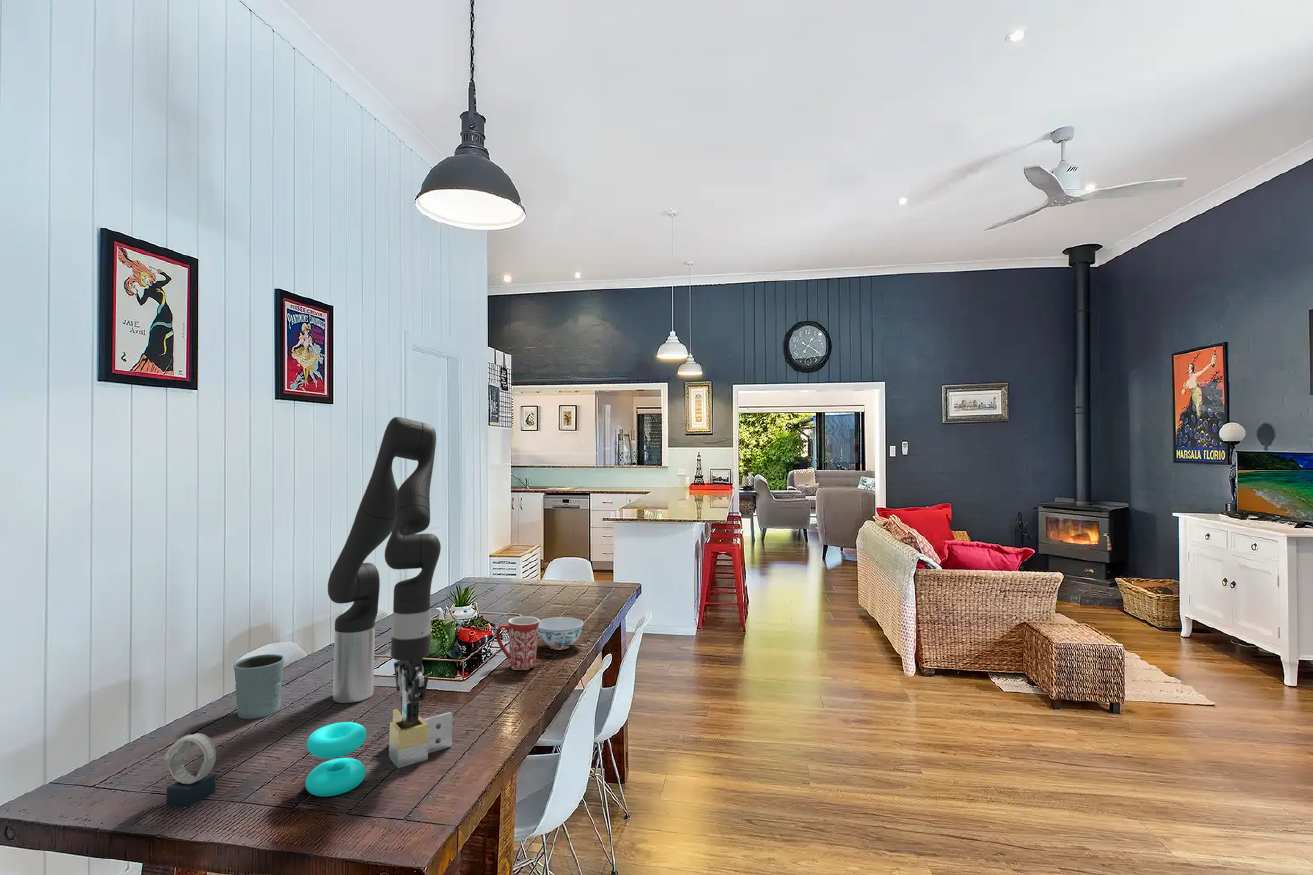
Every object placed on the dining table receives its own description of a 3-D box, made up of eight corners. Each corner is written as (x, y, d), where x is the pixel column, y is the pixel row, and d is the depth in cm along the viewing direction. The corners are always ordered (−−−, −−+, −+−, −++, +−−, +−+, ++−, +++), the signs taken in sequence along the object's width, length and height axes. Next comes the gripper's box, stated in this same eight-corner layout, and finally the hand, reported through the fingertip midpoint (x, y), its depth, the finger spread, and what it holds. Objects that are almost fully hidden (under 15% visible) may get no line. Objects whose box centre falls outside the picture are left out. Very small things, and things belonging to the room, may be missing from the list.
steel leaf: (388, 757, 128) (389, 722, 128) (445, 740, 135) (446, 707, 135) (398, 768, 123) (399, 732, 123) (456, 750, 131) (457, 716, 131)
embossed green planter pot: (288, 711, 149) (290, 660, 149) (238, 724, 142) (240, 671, 142) (275, 699, 156) (276, 651, 156) (227, 711, 149) (228, 660, 149)
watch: (185, 788, 115) (187, 727, 115) (223, 792, 114) (225, 731, 114) (156, 804, 109) (158, 741, 110) (195, 809, 108) (197, 745, 108)
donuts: (367, 716, 124) (366, 737, 114) (366, 767, 123) (364, 793, 114) (309, 724, 120) (303, 747, 110) (308, 777, 119) (302, 804, 110)
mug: (543, 662, 186) (543, 617, 186) (532, 673, 177) (533, 625, 177) (502, 660, 188) (503, 614, 188) (490, 670, 179) (491, 622, 179)
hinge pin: (397, 735, 127) (398, 675, 128) (414, 730, 130) (415, 671, 130) (403, 741, 125) (404, 680, 125) (420, 736, 127) (421, 676, 127)
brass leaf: (379, 746, 132) (380, 712, 132) (407, 738, 136) (408, 705, 136) (398, 768, 123) (399, 732, 123) (427, 759, 127) (428, 724, 127)
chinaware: (579, 655, 193) (579, 630, 193) (530, 654, 193) (531, 629, 194) (585, 640, 208) (586, 617, 208) (540, 640, 208) (541, 616, 208)
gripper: (442, 636, 125) (440, 724, 124) (417, 621, 136) (416, 702, 135) (404, 643, 120) (401, 735, 120) (381, 627, 131) (379, 711, 130)
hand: (409, 717), depth 127 cm, fingers closed on hinge pin, 2 cm apart
